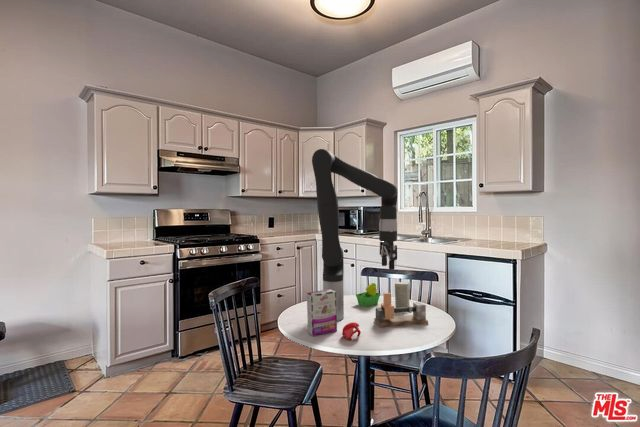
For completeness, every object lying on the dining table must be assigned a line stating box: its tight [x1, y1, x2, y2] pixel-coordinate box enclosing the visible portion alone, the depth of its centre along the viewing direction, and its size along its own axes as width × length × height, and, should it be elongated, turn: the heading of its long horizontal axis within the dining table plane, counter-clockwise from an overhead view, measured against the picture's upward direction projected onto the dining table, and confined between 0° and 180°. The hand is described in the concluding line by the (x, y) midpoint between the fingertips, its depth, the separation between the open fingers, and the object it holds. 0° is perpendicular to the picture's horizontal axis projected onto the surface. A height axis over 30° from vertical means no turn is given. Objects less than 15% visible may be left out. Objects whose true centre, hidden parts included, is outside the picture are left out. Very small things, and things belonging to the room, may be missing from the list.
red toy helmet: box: [341, 322, 362, 341], centre depth 136 cm, size 8×6×6 cm
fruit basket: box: [355, 282, 381, 307], centre depth 179 cm, size 11×9×11 cm
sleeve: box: [380, 292, 395, 319], centre depth 151 cm, size 4×5×10 cm
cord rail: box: [373, 301, 429, 329], centre depth 152 cm, size 21×8×8 cm, turn 100°
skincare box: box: [394, 281, 410, 308], centre depth 173 cm, size 6×4×12 cm
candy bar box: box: [306, 289, 338, 337], centre depth 142 cm, size 11×5×16 cm, turn 117°
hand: (387, 267), depth 151 cm, fingers open, 8 cm apart
